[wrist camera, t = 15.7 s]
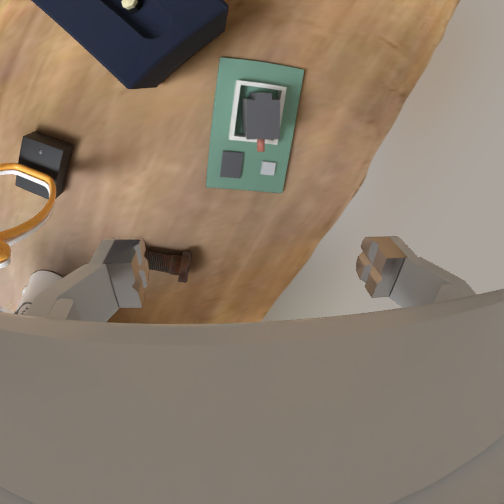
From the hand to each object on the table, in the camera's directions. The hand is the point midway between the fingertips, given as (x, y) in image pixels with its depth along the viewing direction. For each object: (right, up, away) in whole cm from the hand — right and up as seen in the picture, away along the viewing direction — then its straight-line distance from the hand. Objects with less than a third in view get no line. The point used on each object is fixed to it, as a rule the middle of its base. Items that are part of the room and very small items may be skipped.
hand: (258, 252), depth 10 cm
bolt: (-18, 0, +39) cm, 43 cm away
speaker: (-16, +34, +17) cm, 41 cm away
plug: (0, +20, +27) cm, 33 cm away
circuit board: (0, +19, +29) cm, 34 cm away
